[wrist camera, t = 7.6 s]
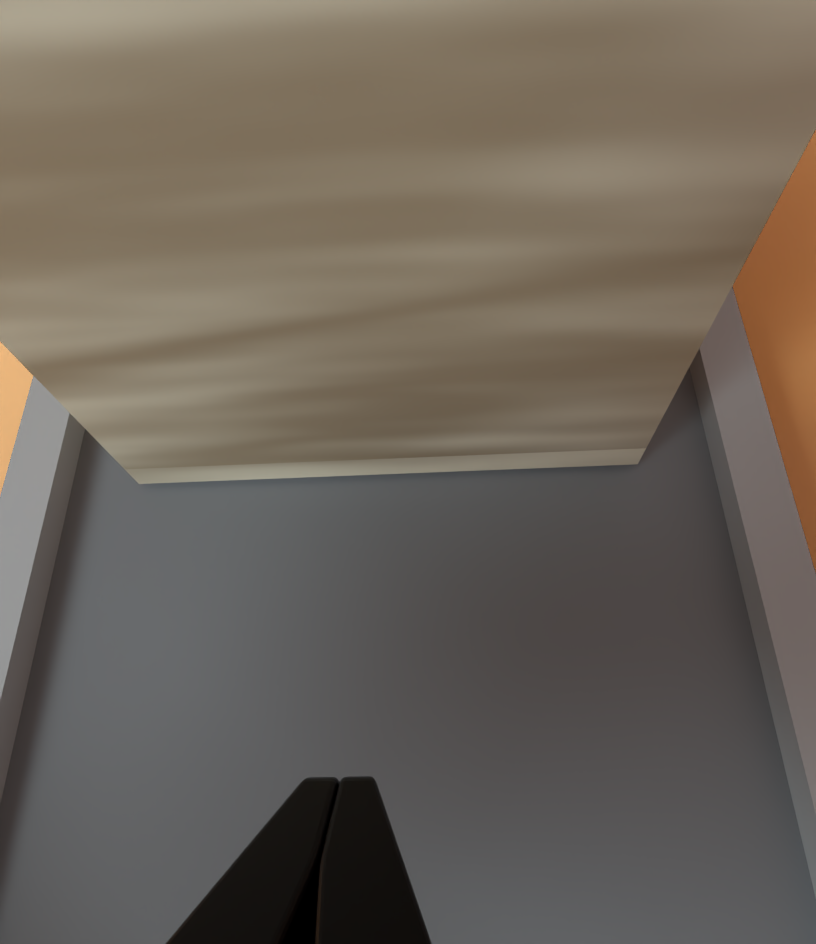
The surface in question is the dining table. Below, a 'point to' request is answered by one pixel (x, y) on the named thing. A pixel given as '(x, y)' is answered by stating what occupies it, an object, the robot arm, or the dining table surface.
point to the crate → (384, 221)
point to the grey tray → (420, 681)
